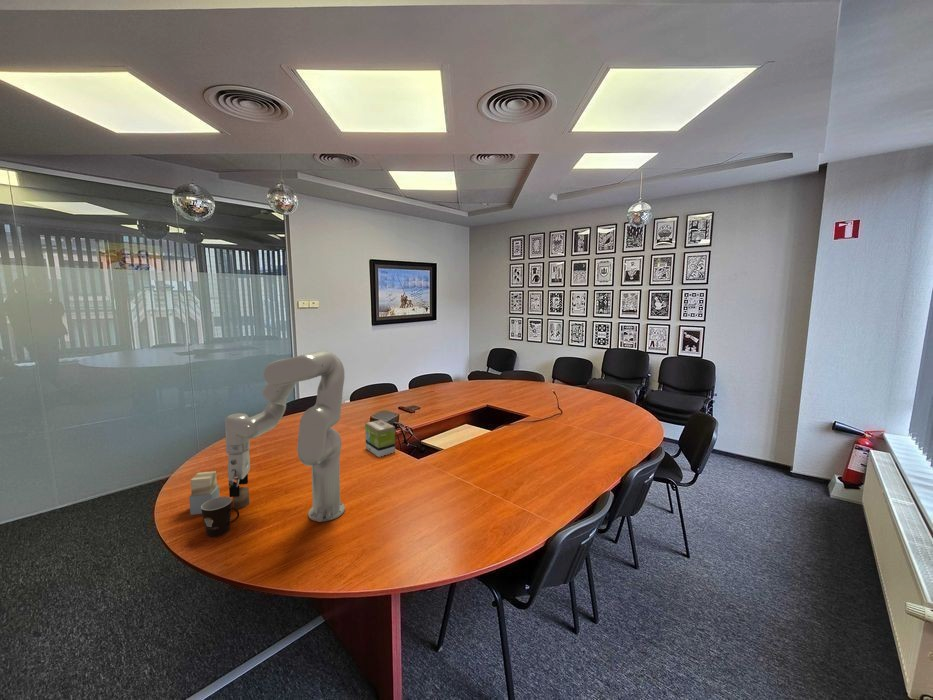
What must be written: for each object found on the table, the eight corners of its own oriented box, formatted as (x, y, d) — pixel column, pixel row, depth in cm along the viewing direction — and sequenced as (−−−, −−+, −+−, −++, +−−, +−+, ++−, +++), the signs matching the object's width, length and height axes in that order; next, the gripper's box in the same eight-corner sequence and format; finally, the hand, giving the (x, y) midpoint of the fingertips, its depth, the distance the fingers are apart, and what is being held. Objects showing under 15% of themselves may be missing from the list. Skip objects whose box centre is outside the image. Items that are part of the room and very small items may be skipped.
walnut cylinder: (247, 507, 139) (246, 492, 138) (231, 509, 138) (230, 494, 137) (251, 500, 144) (250, 486, 143) (236, 502, 143) (235, 487, 142)
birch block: (210, 493, 135) (209, 478, 134) (191, 495, 133) (190, 480, 133) (216, 486, 141) (216, 471, 140) (198, 488, 139) (197, 472, 139)
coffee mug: (198, 533, 123) (196, 504, 122) (226, 521, 130) (224, 494, 129) (214, 546, 117) (212, 516, 116) (242, 532, 124) (241, 504, 123)
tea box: (364, 449, 198) (364, 422, 196) (381, 444, 205) (381, 419, 203) (378, 458, 187) (378, 429, 185) (395, 453, 194) (395, 425, 192)
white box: (212, 512, 135) (211, 494, 135) (190, 514, 134) (189, 496, 133) (219, 502, 142) (218, 485, 141) (199, 505, 140) (197, 487, 140)
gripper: (241, 455, 131) (242, 500, 133) (255, 438, 148) (256, 478, 150) (217, 456, 129) (219, 502, 131) (234, 439, 146) (235, 480, 148)
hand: (239, 490), depth 140 cm, fingers open, 9 cm apart
